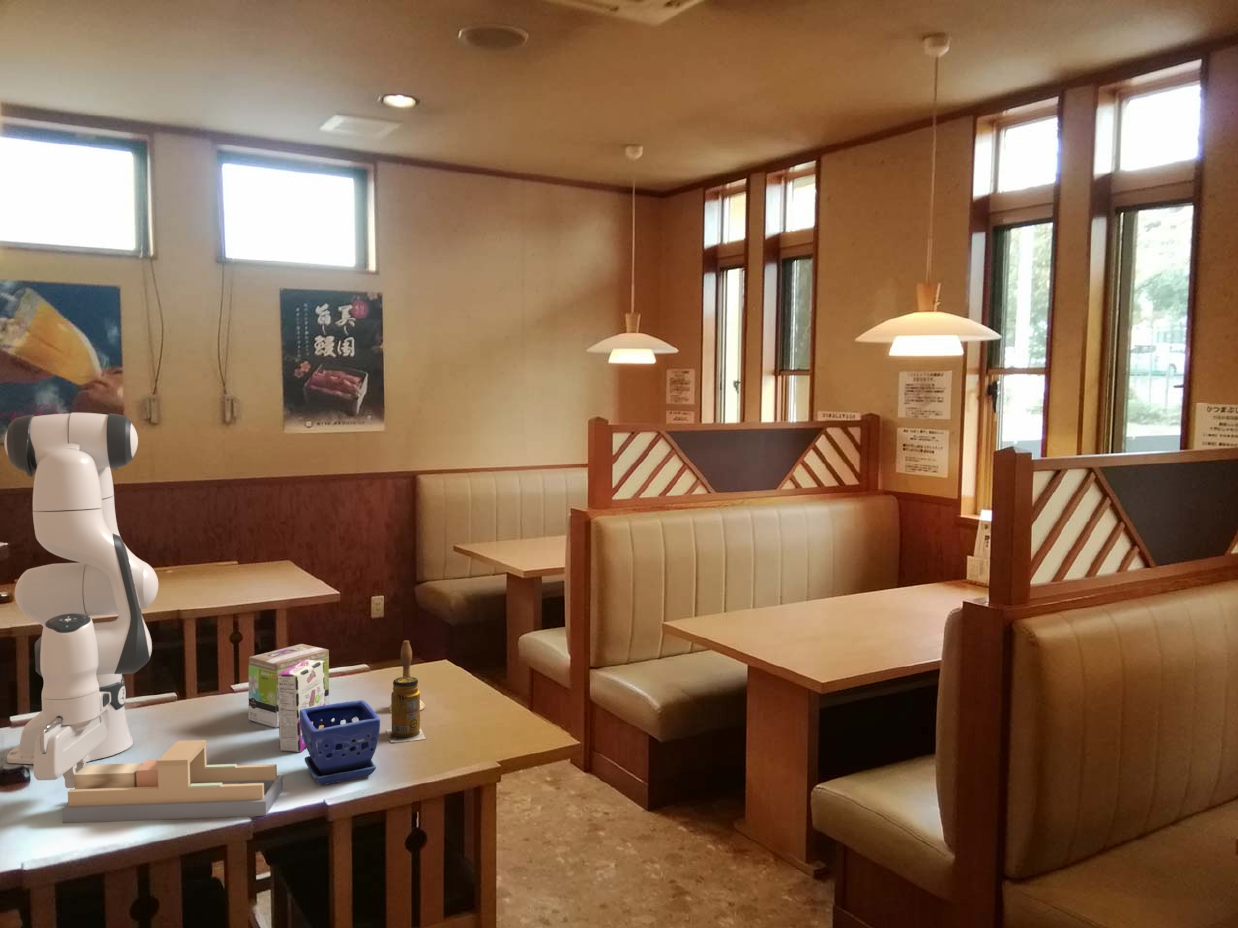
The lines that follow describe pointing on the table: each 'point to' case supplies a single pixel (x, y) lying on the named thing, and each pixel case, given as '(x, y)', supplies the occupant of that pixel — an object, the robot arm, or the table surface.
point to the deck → (182, 791)
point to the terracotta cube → (148, 774)
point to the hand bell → (407, 664)
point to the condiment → (405, 711)
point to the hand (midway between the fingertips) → (74, 784)
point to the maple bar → (107, 776)
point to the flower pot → (340, 741)
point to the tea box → (265, 679)
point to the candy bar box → (298, 700)
